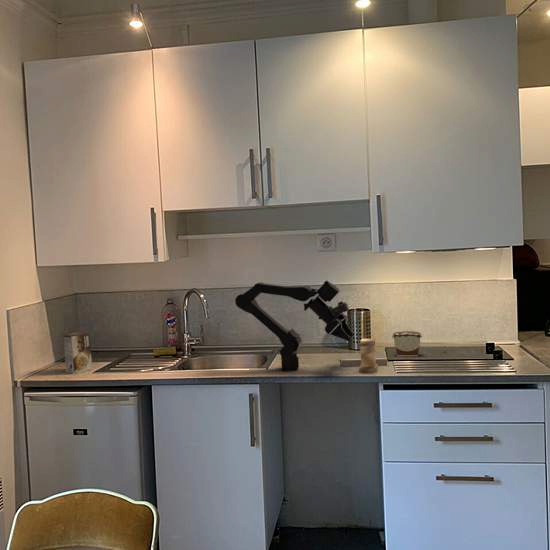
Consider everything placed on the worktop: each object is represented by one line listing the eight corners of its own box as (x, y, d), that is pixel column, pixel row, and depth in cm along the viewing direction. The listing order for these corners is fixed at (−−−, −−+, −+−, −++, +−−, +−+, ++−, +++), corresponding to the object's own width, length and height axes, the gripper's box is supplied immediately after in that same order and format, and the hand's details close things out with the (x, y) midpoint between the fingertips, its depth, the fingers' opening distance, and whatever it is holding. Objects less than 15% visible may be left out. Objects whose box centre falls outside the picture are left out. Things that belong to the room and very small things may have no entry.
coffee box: (84, 368, 264) (81, 331, 263) (92, 369, 260) (90, 332, 259) (65, 372, 257) (62, 334, 256) (73, 374, 253) (71, 335, 252)
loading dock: (342, 366, 245) (341, 360, 244) (340, 359, 257) (340, 353, 257) (387, 365, 243) (386, 358, 243) (383, 358, 256) (383, 352, 256)
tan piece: (359, 372, 234) (358, 341, 233) (361, 368, 241) (360, 338, 240) (376, 372, 232) (375, 341, 231) (377, 368, 239) (376, 338, 238)
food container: (422, 353, 262) (422, 330, 262) (422, 356, 256) (421, 333, 256) (393, 353, 266) (393, 330, 265) (392, 356, 260) (392, 333, 259)
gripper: (332, 298, 228) (362, 327, 226) (339, 293, 246) (367, 319, 244) (312, 319, 231) (342, 348, 229) (321, 312, 249) (349, 339, 247)
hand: (351, 338), depth 237 cm, fingers open, 9 cm apart
